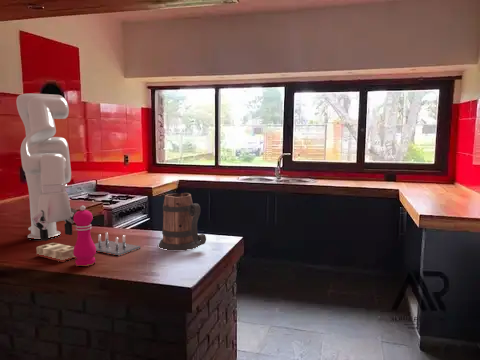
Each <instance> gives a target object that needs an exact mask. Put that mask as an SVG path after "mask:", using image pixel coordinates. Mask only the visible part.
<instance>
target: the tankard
mask: <svg viewBox="0 0 480 360" xmlns="http://www.w3.org/2000/svg"><path fill="white" fill-rule="evenodd" d="M162 211H163V212H162V215H163V216H162V222H163V223H162V232H161V233H162V238H161V240H160V241H159V243H158V244H159V247H160V248H163V249H167V250H185V251H188V250H187V249H191V250H194V249H197V248H199V247H200V246H202V245H205V244H206V242H207V236H206V234H204V233H200V234H199V233H198V221H199V219H200V216H201V206H200V204H199V203H193V199H192V194H191V193H189V192H181V193H168V194H165V195H164V199H163V204H162ZM198 246H199V247H198ZM196 247H197V248H196ZM160 248H159V249H160ZM193 248H194V249H193ZM167 250H166V251H167Z"/></svg>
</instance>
